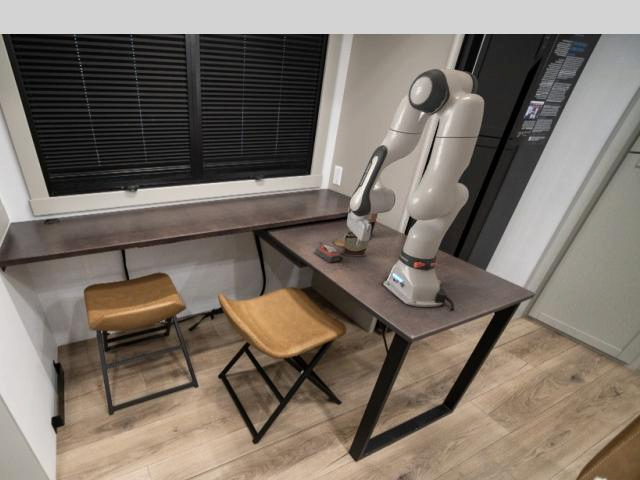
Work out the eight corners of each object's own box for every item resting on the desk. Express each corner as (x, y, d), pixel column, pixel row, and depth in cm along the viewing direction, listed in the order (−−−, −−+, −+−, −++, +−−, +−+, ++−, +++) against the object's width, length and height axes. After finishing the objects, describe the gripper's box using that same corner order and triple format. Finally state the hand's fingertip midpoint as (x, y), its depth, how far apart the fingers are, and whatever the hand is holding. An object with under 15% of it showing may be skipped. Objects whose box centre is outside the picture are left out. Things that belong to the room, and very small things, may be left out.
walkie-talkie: (346, 261, 141) (320, 244, 156) (348, 252, 138) (322, 236, 153) (330, 264, 138) (306, 246, 153) (332, 255, 135) (307, 238, 150)
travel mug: (366, 239, 162) (376, 200, 151) (353, 234, 168) (362, 197, 156) (374, 236, 166) (384, 198, 155) (362, 231, 171) (371, 194, 160)
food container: (363, 250, 150) (369, 231, 145) (366, 256, 145) (372, 236, 140) (338, 249, 151) (342, 229, 146) (340, 254, 146) (344, 234, 141)
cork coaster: (354, 247, 154) (355, 246, 153) (337, 247, 153) (337, 246, 153) (349, 240, 161) (349, 239, 161) (331, 239, 161) (332, 239, 161)
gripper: (377, 222, 129) (369, 252, 137) (360, 206, 146) (353, 234, 154) (363, 221, 129) (355, 252, 137) (347, 206, 146) (341, 234, 154)
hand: (354, 242), depth 145 cm, fingers open, 6 cm apart
